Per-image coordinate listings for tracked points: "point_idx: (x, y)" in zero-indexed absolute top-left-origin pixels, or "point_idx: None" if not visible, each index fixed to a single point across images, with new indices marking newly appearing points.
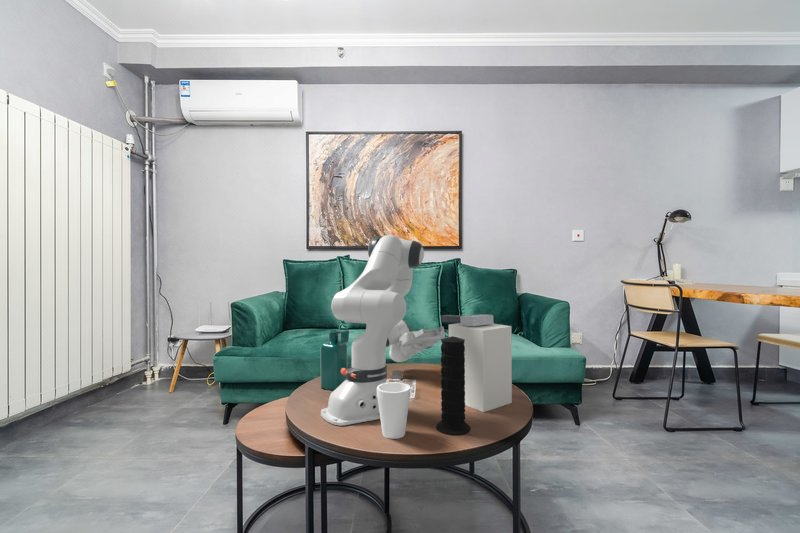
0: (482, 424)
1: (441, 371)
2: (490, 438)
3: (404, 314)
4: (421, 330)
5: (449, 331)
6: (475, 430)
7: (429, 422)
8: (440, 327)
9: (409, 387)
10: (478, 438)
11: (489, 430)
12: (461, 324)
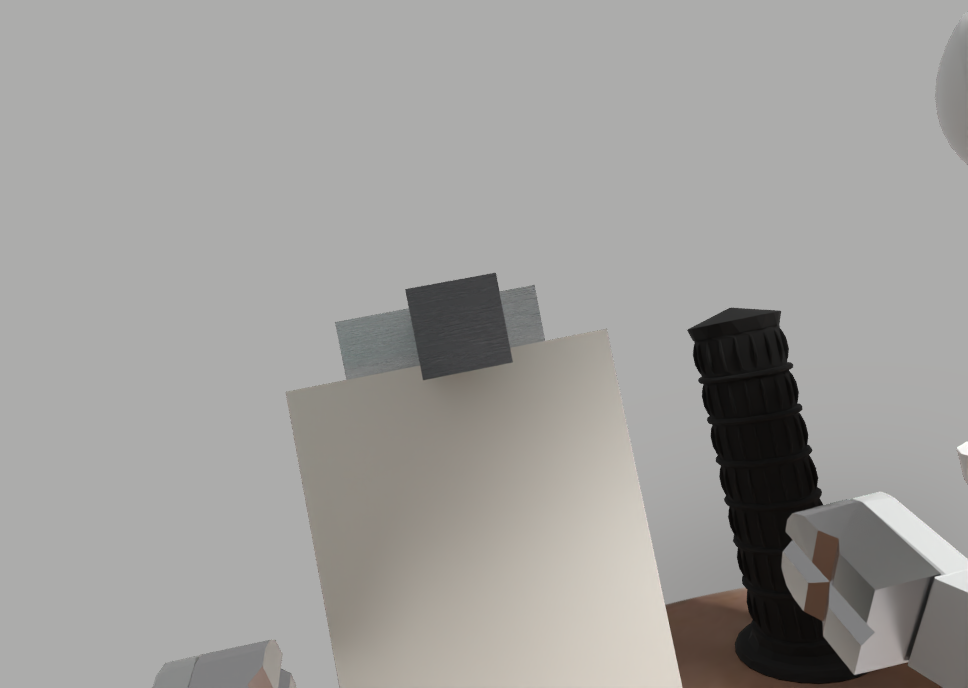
0: (680, 655)
1: (805, 431)
2: (699, 604)
3: (957, 154)
4: (901, 529)
5: (614, 381)
6: (725, 632)
7: (915, 684)
8: (277, 648)
9: (961, 449)
10: (735, 606)
11: (678, 630)
12: (542, 337)
